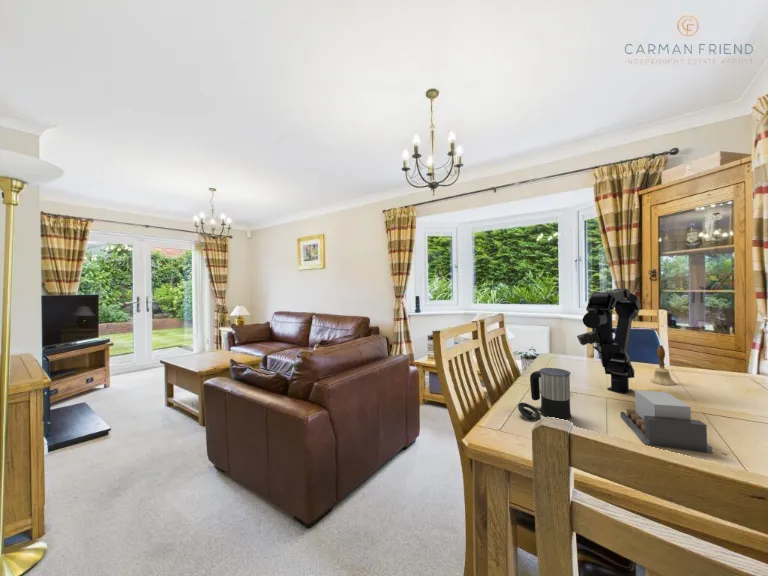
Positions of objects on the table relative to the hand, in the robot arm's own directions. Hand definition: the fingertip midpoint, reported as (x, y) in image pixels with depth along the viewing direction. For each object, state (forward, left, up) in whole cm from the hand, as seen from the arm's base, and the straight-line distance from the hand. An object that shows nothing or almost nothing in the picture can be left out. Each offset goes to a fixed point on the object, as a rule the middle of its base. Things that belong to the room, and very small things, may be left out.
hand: (604, 366), depth 120 cm
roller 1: (+9, +18, -12) cm, 23 cm away
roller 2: (+12, +20, -12) cm, 26 cm away
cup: (+10, -15, -12) cm, 22 cm away
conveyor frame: (+15, +23, -12) cm, 30 cm away
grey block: (+15, +23, -9) cm, 29 cm away
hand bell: (-39, +2, -12) cm, 41 cm away
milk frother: (+32, -2, -12) cm, 35 cm away
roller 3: (+15, +23, -12) cm, 30 cm away
